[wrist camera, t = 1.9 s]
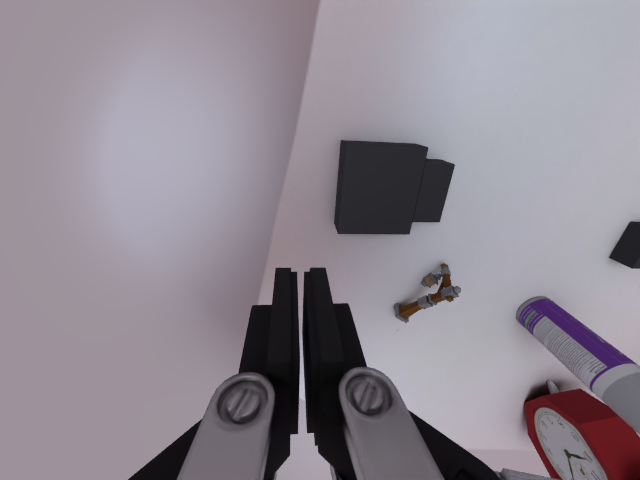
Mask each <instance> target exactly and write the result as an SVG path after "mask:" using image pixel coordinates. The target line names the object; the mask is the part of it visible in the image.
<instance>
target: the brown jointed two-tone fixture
mask: <svg viewBox="0 0 640 480" xmlns="http://www.w3.org/2000/svg"><path fill="white" fill-rule="evenodd" d="M440 266H441V274H439V275H440V276H439V275H438V274H436V275H433V274H431V273H430V276H429V277H426V278H424V281H423V282H422V285H423V286H428V287H430V288H431V286H432V285H434V284H437V285H438V279H439V280H440V278H441V276H443V278H442V283H441V285H440V287H439V289H438V292H437V293H435V294H428V296H426V295H425V296H424V297H422V298H419V299H418V301H415V302H413V303H410V304H406V305H403V306H401V305H399V304H398V303H397V304H395V317H396V318H398V319H400V320H401V321H403V322H405V323H407V322H409V319H408V317H410V316H411V315H412V314H414V313H415V312H417V311H418V310H421V309H426V308H428V307H432V306H433V305H437V303H438V302H441V301H443V300H447V301H449V302H451V301H453V300H454V299H453V298H456V297H459V295H458V293H460V292H461V288H460V287H458V286H455V287H453V286H452V285H451V280H450V276H451V274H450V270H449V268H448V265H446V264H445V263H444V264H442V265H440ZM443 288H444V289H443Z"/></svg>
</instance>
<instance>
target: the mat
mask: <svg viewBox="0 0 640 480" xmlns="http://www.w3.org/2000/svg"><path fill="white" fill-rule="evenodd" d="M609 258H611V259H613V260H615V261H617V262H620V263H622V264H624V265H626V266H628V267H630V268H640V222H630V224H629V226H628V227H627V229H626V231H625V232H624V234H623V236H622V237H621V239H620V241H619V242H618V244H617V246H616V247H615V249H614V251H613V252H612V254H611V256H610V257H609Z"/></svg>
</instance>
